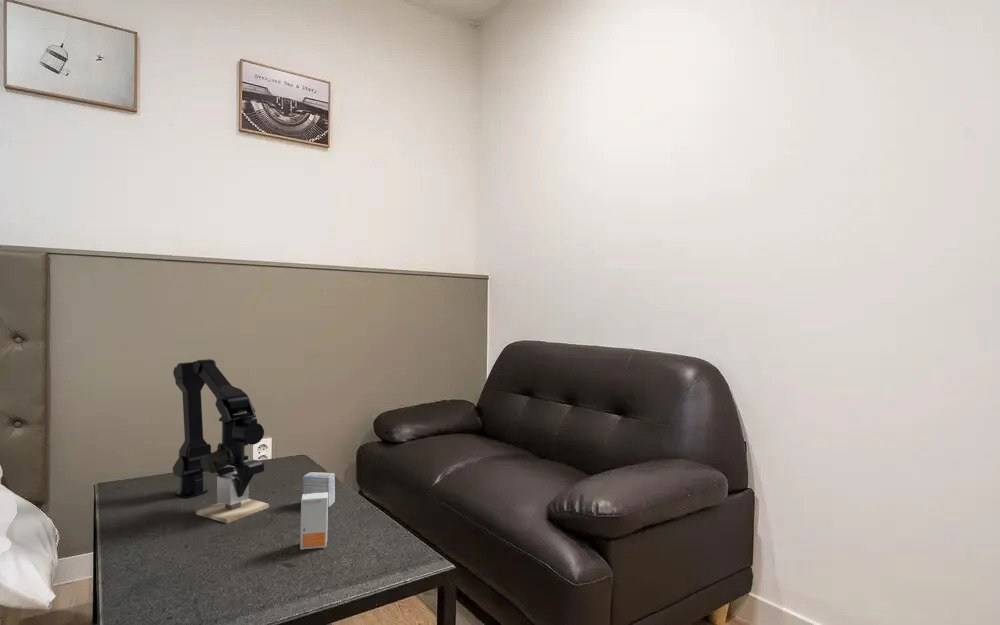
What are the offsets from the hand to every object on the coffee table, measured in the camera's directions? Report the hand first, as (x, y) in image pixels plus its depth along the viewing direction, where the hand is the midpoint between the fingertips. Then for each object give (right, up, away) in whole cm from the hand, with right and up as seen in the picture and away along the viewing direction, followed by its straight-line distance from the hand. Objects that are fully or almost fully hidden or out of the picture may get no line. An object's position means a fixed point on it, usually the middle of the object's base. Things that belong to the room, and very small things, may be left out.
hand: (233, 494), depth 150 cm
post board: (0, -4, 0) cm, 4 cm away
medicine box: (+22, -5, +6) cm, 23 cm away
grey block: (0, -2, 0) cm, 2 cm away
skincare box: (+30, -5, -21) cm, 37 cm away
